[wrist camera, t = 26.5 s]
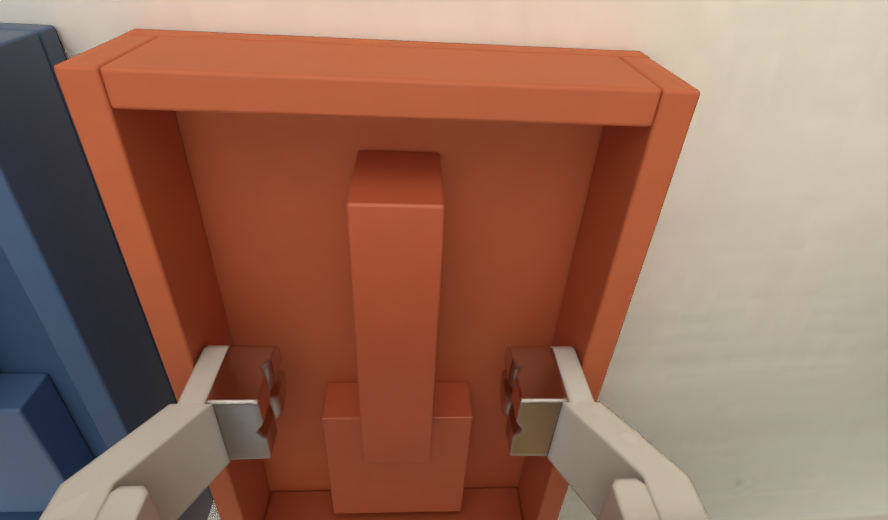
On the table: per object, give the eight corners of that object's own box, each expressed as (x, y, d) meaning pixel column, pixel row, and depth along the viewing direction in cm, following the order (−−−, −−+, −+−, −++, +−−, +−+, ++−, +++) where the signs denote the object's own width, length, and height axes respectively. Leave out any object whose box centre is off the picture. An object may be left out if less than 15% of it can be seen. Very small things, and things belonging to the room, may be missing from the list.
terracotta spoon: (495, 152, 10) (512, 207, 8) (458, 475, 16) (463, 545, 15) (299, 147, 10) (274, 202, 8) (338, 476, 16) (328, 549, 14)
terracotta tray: (641, 50, 10) (703, 90, 8) (529, 482, 18) (545, 558, 16) (133, 28, 9) (50, 65, 7) (258, 486, 17) (237, 566, 15)
